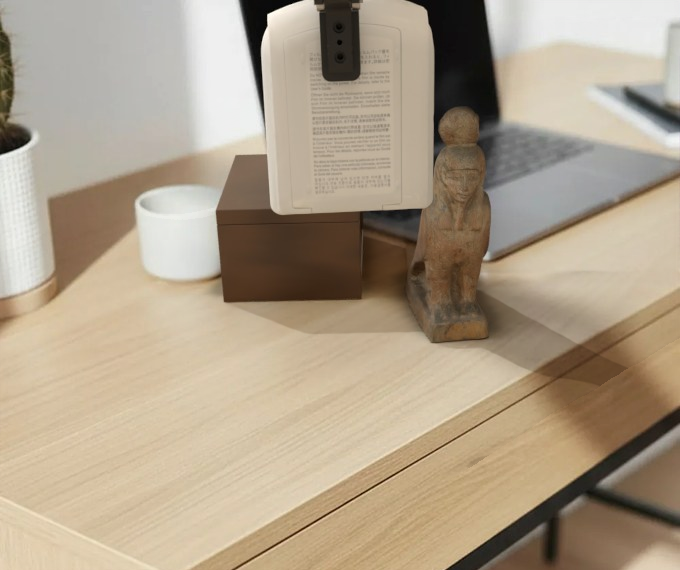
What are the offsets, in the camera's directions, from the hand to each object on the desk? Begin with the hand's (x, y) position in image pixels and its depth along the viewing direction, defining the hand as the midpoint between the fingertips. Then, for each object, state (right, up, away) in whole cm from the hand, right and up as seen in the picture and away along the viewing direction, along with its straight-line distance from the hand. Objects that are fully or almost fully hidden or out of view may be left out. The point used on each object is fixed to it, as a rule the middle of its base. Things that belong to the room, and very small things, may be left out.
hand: (342, 68), depth 71 cm
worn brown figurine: (+8, -11, +22) cm, 26 cm away
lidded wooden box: (-4, -6, +31) cm, 31 cm away
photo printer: (+1, -7, +4) cm, 9 cm away
